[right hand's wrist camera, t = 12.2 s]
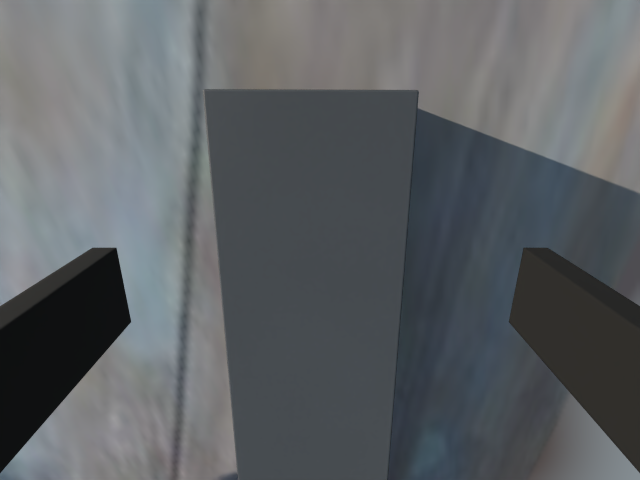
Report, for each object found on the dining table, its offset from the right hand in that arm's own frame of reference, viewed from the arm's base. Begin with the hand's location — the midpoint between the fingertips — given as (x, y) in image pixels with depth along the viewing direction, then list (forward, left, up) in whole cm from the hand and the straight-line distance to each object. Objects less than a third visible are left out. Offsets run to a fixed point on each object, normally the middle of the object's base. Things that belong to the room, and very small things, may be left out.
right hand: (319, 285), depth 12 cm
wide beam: (+8, +25, -14) cm, 30 cm away
